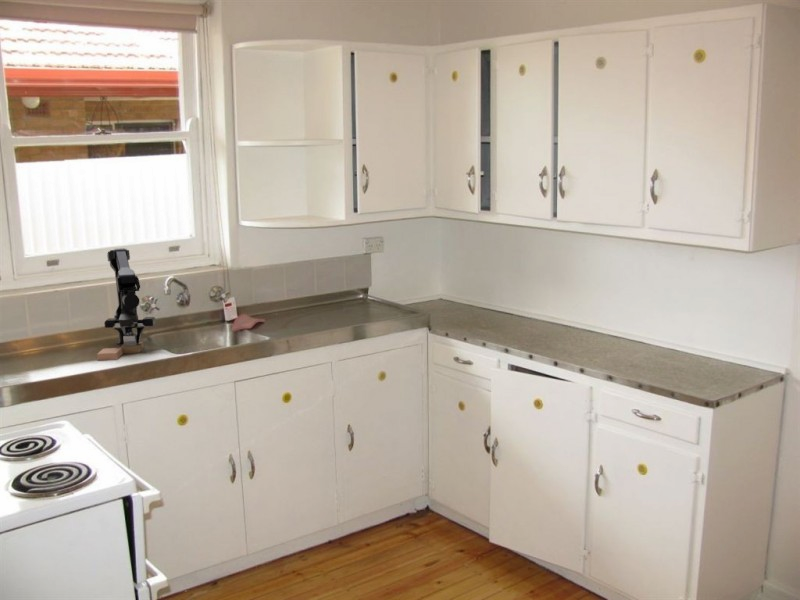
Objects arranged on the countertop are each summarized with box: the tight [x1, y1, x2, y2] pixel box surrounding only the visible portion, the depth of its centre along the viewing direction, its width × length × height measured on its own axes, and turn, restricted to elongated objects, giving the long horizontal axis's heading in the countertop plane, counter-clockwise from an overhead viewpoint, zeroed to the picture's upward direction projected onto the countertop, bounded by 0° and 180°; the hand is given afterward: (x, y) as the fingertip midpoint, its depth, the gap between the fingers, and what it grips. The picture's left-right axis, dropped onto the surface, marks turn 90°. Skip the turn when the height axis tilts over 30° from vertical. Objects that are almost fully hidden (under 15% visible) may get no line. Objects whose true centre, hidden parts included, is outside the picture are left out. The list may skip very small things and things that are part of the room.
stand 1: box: [97, 347, 123, 361], centre depth 324 cm, size 9×7×2 cm
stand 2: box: [119, 341, 145, 354], centre depth 335 cm, size 9×7×2 cm
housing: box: [123, 331, 141, 346], centre depth 335 cm, size 7×4×5 cm, turn 5°
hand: (131, 343), depth 335 cm, fingers closed on housing, 4 cm apart
